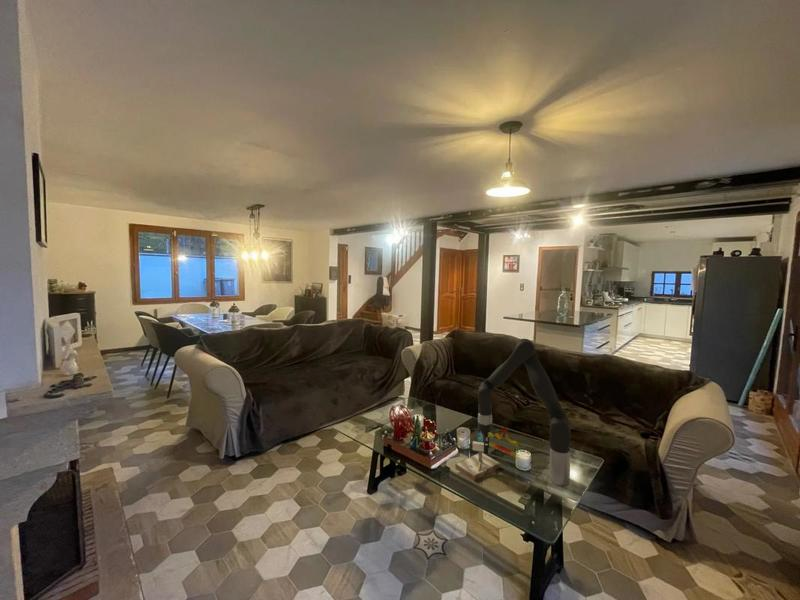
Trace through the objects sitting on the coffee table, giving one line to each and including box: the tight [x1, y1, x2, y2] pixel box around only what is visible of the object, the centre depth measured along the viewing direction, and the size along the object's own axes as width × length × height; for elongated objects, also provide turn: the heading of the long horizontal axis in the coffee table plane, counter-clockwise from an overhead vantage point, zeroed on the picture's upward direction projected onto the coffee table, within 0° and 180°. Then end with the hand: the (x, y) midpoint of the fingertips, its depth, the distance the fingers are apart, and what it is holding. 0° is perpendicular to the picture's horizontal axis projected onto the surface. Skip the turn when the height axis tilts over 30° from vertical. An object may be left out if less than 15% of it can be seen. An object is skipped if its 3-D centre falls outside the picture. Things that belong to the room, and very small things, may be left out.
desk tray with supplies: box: [454, 452, 501, 482], centre depth 190 cm, size 20×14×3 cm
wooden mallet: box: [472, 440, 487, 471], centre depth 187 cm, size 10×8×10 cm
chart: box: [476, 426, 521, 459], centre depth 207 cm, size 30×3×15 cm, turn 41°
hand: (484, 449), depth 190 cm, fingers open, 8 cm apart
